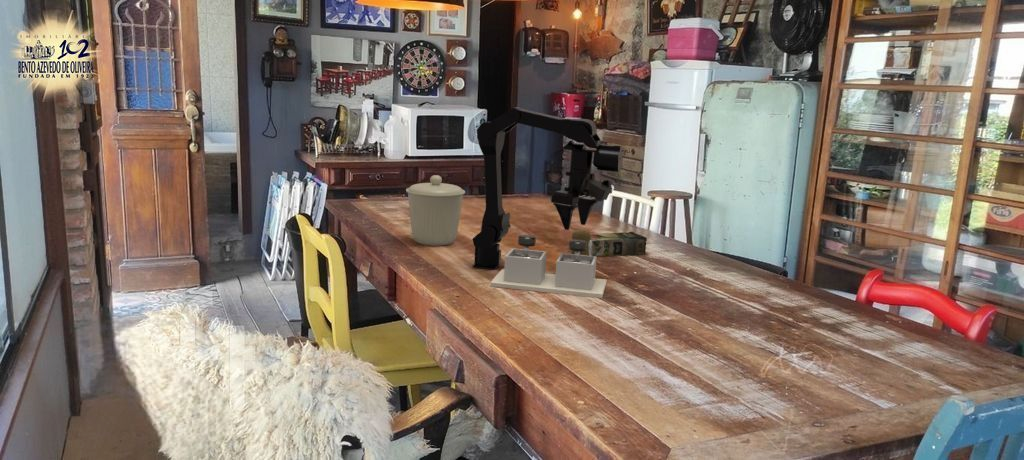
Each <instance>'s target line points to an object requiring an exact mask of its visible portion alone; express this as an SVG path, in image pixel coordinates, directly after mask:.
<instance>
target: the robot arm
mask: <svg viewBox="0 0 1024 460" xmlns="http://www.w3.org/2000/svg"><path fill="white" fill-rule="evenodd" d="M518 124H519V125H525V126H528V127H533V128H536V129H537V128H538V129H542V130H546V131H551V132H554V133H557V134H561V135H562V136H564V137H565V138H567V139H569V141H568V142H567V144H565V145H564V146H563V147H562V149H563V150H567V151H570V157H569V166H568V167H569V168H568V170H567V171H565V176H568V180H567V186H565V187H564V189H563V190H562V189H561V190H556V191H554V192H553V193H551V196H550V202H551V203H552V204H553V206H554V207H555V208H556V211H557V213H558V215H559V217H560V221H561V223H562V225H563V226H562V227H563V229H564V230H566V231H569V230H570V227H571V224H572V218H573V213H574V211H575V209H578V210H577V211H578V216H579V222H580V225H581V226H585V225H586V224H587V222H588V218H589V217H590V213H591V211H592V209H593V206H595V204H597V203H599V202H602V201H604V200H605V201H607V200H608V198H609V196H610V194H612V193H613V186H612V185H613V184H612V183H613V182H612V181H611V180H609V179H604V180H603V181H602V180H597V179H595V177H596V174H595V172H592V167H593V166H594V168H596V170H597V171H602V172H603V171H604V172H611V173H612V172H613V173H620V172H621V169H622V164H623V152H622V145H620V144H618V145H616V144H615V145H610V144H604V143H603V142H602V139H601V138H600V136H599V135H598V133H597V131H598V128H597V125H596V123H595V121H593V120H592V119H589V118H588V119H587V118H567V117H566V118H564V117H560V116H554V115H551V114H546V113H541V112H537V111H533V110H530V109H529V110H528V109H525V108H523V107H520V106H516V107H511V108H510V109H508V111H506V112H504V113H503V114H501V115H500V116H499V115H498V116H497V117H495V118H494V119H492V120H490V121H484V122H483V123H480V125H479V126H478V127H477V128H476V136H477V141H478V146H479V148H480V151H481V153H482V155H483V169H484V170H483V171H484V173H483V174H484V175H483V176H484V193H485V194H484V195H485V211H484V213H483V215H482V220H481V229H480V231H479V233H477V234H476V235H475V236H473V238H472V243H473V246H474V264H472V268H478V269H487V270H497V268H498V267H499V266H500V265H501V263H502V250H501V249H500V243H501V242H502V239H503V238H504V237H505V236H506V235H507V234H508V233H509V230H510V229H509V228H511V227H512V225H511V222H510V219H511V213H510V212H505V210H504V208H503V193H502V191H503V190H502V187H503V186H502V164H501V163H502V162H501V155H502V151H503V148H504V144H505V138H506V137H505V136H506V134H507V133H508V132H510V131H511V130H512V129H513V128H515V127H516V126H517V125H518ZM575 142H576V143H575ZM582 143H583V144H582ZM592 164H593V165H592Z"/></svg>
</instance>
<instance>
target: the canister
mask: <svg viewBox="0 0 1024 460" xmlns="http://www.w3.org/2000/svg"><path fill="white" fill-rule="evenodd" d="M429 181H430V182H421V183H416V184H412V185H410V186H409V187H406V189H405V192H406V193H407V196H408V199H407V200H408V206H409V208H408V209H409V220H410V228H411V229H410V230H411V235H412V238H413V240H414V241H415V242H416V243H418V244H420V245H425V246H433V247H436V246H438V247H439V246H448V245H451V244H452V243H454V242H455V240H456V239H457V235H458V230H459V224H460V218H461V210H462V203H463V197H464V195H465V194H466V191H465V190H464V189H462V187H460V186H458V185H456V184H452V183H451V184H450V183H445V182H444V183H443V182H442V181H443V180H442V176H440V175H438V174H436V175H435V174H434V175H432V176H430V178H429Z"/></svg>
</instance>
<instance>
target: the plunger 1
mask: <svg viewBox="0 0 1024 460" xmlns="http://www.w3.org/2000/svg"><path fill="white" fill-rule="evenodd" d="M536 239H537V237H536V236H535V235H531V234H519V235H518V241H517V242H518V243H517V244H518V245H519V246H521V247H523V249H524V252H519V253H514V254H513V257H523V258H534V259H539V255H538V254H535V253H529V250H530V247H535V246H536V244H537V243H536Z"/></svg>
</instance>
